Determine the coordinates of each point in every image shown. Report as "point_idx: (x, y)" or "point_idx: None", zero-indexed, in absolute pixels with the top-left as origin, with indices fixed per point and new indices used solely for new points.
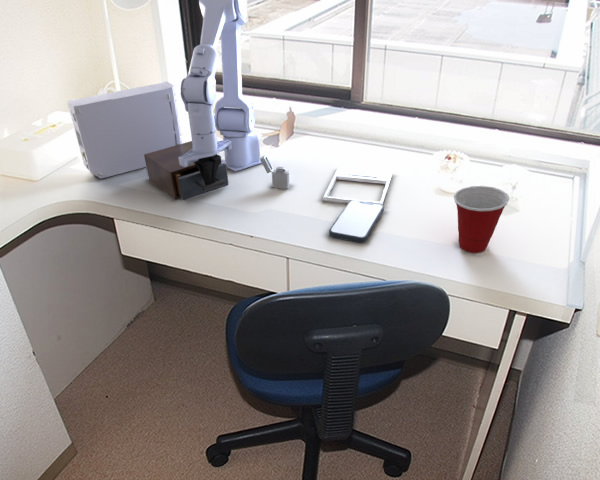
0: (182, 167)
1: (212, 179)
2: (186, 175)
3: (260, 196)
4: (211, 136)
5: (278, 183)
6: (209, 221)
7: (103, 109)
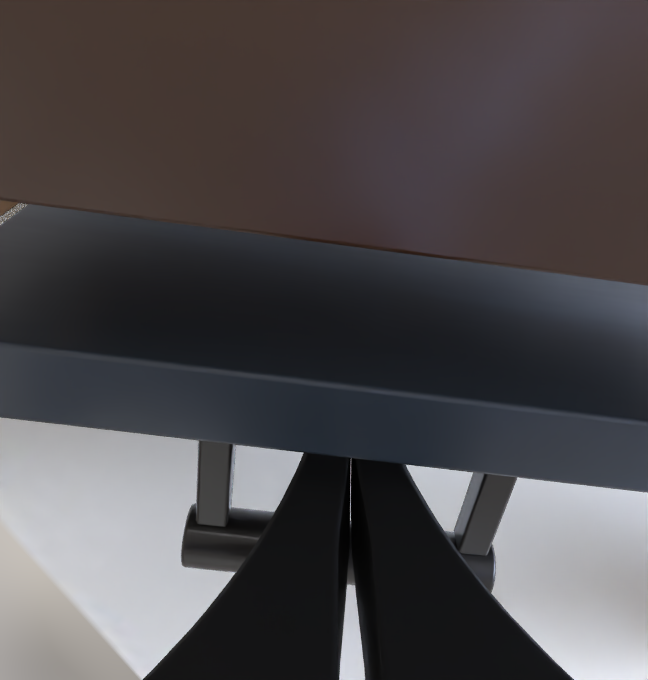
0: (63, 145)
1: (344, 598)
2: (47, 372)
3: (643, 577)
4: None
5: None
6: (105, 576)
7: None
